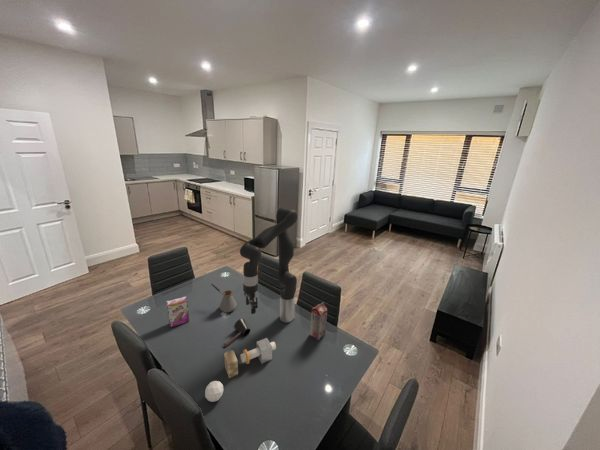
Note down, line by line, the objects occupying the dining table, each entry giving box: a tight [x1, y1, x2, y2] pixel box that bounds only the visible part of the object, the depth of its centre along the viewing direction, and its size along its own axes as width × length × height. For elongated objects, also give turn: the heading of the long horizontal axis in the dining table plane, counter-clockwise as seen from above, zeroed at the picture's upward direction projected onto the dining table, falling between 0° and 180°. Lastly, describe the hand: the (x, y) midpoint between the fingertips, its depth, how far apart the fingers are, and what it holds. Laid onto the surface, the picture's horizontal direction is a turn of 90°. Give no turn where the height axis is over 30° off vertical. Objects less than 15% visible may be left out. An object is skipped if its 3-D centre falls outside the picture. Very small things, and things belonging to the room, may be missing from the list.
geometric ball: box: [204, 380, 224, 403], centre depth 107 cm, size 8×8×8 cm
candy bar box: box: [165, 296, 190, 328], centre depth 149 cm, size 11×5×16 cm, turn 123°
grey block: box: [256, 337, 273, 365], centre depth 129 cm, size 6×7×8 cm
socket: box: [223, 349, 239, 379], centre depth 120 cm, size 4×8×9 cm, turn 31°
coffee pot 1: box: [210, 283, 238, 313], centre depth 167 cm, size 21×12×15 cm, turn 61°
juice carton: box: [309, 301, 328, 341], centre depth 144 cm, size 7×7×22 cm
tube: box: [239, 341, 277, 365], centre depth 127 cm, size 18×7×7 cm, turn 121°
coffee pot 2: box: [223, 318, 251, 348], centre depth 143 cm, size 8×18×8 cm
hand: (250, 308), depth 128 cm, fingers open, 8 cm apart
